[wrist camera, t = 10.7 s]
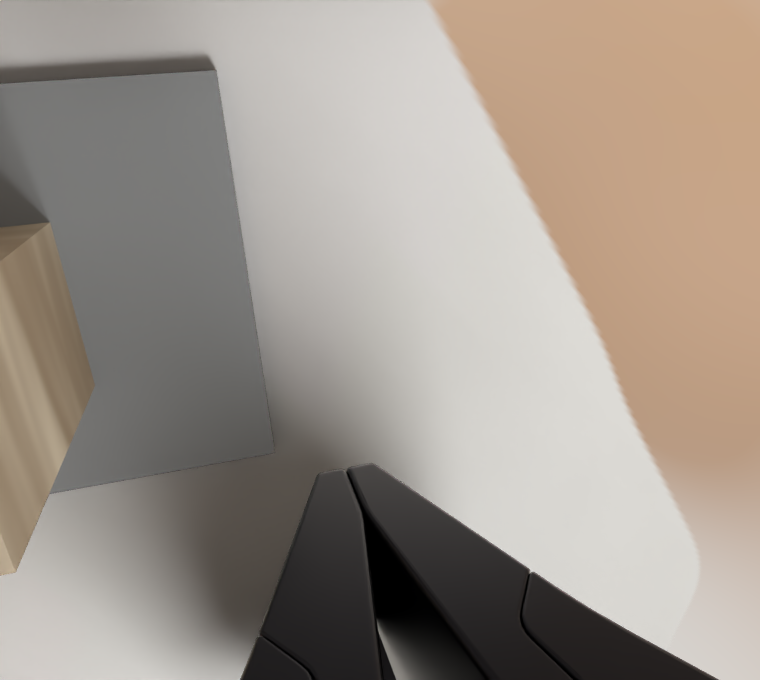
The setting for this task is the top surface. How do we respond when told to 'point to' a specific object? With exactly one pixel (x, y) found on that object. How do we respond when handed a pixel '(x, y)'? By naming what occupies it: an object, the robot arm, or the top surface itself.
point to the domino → (35, 380)
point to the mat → (143, 266)
